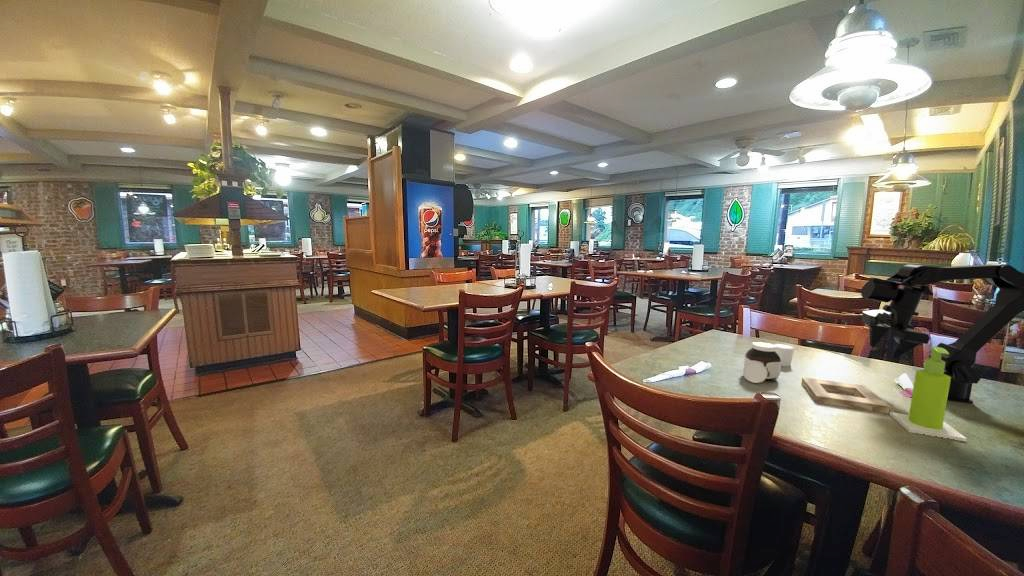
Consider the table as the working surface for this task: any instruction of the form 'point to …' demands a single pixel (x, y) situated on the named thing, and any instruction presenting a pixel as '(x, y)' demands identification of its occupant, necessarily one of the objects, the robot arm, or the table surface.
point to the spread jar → (761, 363)
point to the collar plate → (862, 401)
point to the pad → (914, 428)
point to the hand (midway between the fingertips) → (882, 352)
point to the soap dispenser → (930, 392)
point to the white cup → (785, 353)
